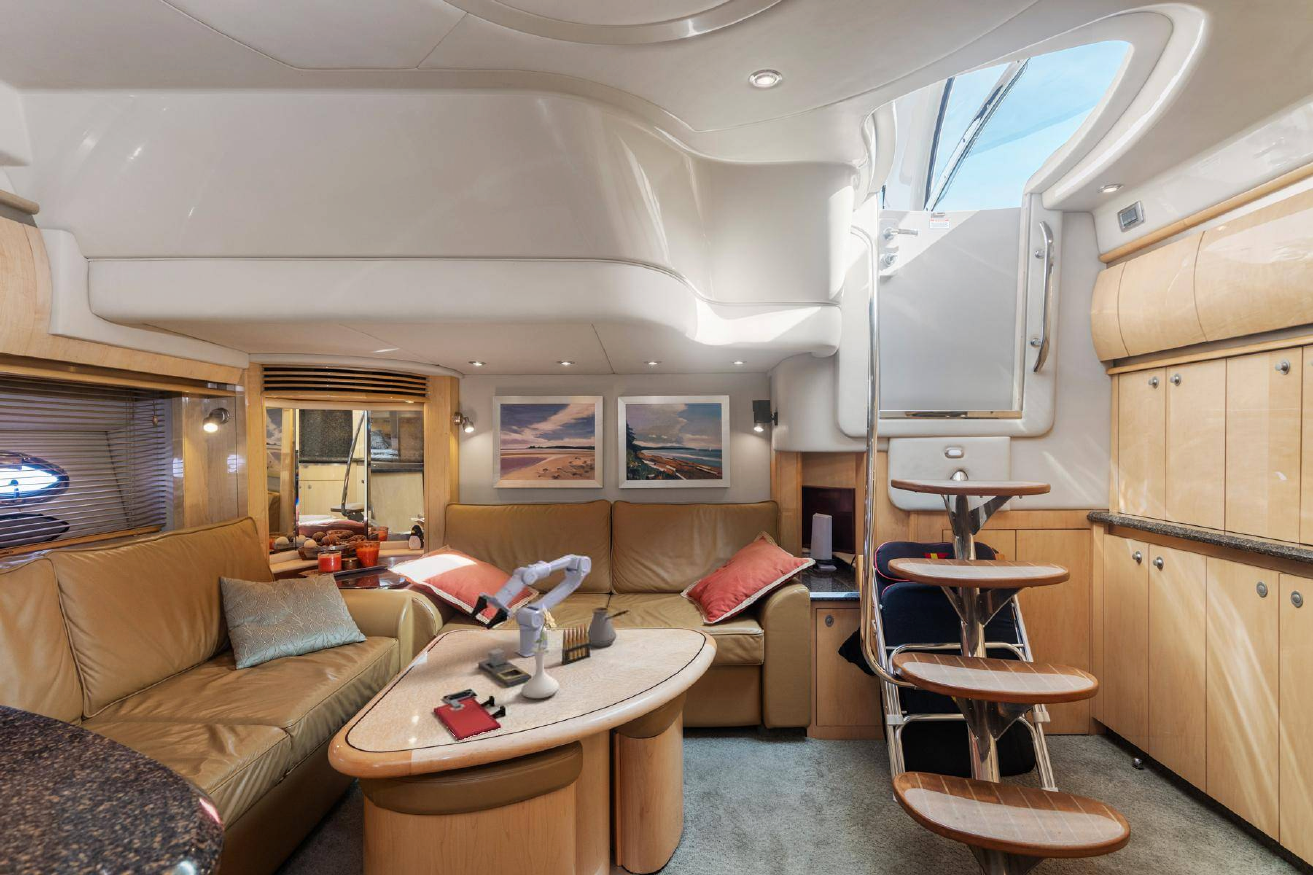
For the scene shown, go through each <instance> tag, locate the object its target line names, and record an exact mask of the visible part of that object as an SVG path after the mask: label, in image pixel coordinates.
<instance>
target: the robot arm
mask: <svg viewBox="0 0 1313 875" xmlns="http://www.w3.org/2000/svg"><path fill="white" fill-rule="evenodd" d="M562 569H564V575H565V579H564V580H562V581H561V582H560V583H559V584H558V585H556V586H555V587H554V588H553V589H552V590H550V591H548V592H547V594H545V595H543V597H541V598H540V599H539V600H537V601H536V602H533V603H529V604H528V605H526V606H524V607H523V606H522V607H520V608H519V609H518V610H517V611H516V613H515V614H514V610H512V609H511V608H510V607H508V605H510V603H511V602H512V601H513V600H514V599H515V598H516V597H517V596H518V595H519V594H520V593H521V592H522V591H523V589H524V588H526V587H527V585H529V586H530V585H533V584H534V583H535V582H536V581H538V580H540V579H544V578H547V577H549V575H551V572H554V571H558V570H562ZM591 569H592V561H591V558H590V557H589V556H586V555H585V556H583V555H577V554H576V555H575V554H572V553H571V554H569V555H568V554H567V555H564V556H563V557H561V558H557V559H555V560H552V561H550V562H546V561H543V560H539V561H537V563H535V564H527V567H522V566H521V567H518V568H515V569H514V571H513V574H512V576H511V578H510V579H509V580H508V581H507V582H506V583H505V584H504V585H503V586H501V588H500V589H499V590H498V591H497V592H496V593H495V594H494V595H491V594H488V593H486V592H483V591H482V592H481V593H480V594H479V595H478V597H477V601H476V602H475V605H474V608H473V610H472V611H471V612H470V614H469V617H470V619H471V620H474V619H475V618H476V617H477V616H478V615H479V614H480V613H481V612H483V611H484V610H486V609H488V608H489V606H488V605H491V607H494V609H496V610H497V611H496V613H495V614H494V616H493V617H492V618H491V619H490V620H489V621H488V622H487V624H486V625H485V628H486V629H487V631H489V630H491V629H492V628H494V627H496V626H497V625H499V624H501V623H504V622H507V621H508V618H509V619H511V618H512V617H513V616H514V615H515V616H514V619H515V622H516V624H518V628H519V649H517V650H515V652H516V653H517V654H519V655H521V657H524V658H528V657H531V656H534V653H533V652H532V651H531V648H533V647H535V646H539V643H535V642H536V641H537V639H540V634H541V630H542V627H543V625H544V623H545V620H544V618H543V615H542V609H544V610H545V608H546V610H547V612H550V611H552V609H554V608H555V607H556V606H557V605H558V604H559V603H561V602H562V601H563V600H565V598H567V597H568V596H569V595H570V594H572V593H573V592H574V591H575V590H576V589H578V587H580V586H581V584H582V582H583V580H584V579H585V577H586V576H587V575H588V574H589V573H591ZM542 632H544V633H546V635H547V636H548V630H547V628H546V625H545V626H544V628H543V631H542ZM541 640H543V641H542V642H541V643H540V646H547V647H548V642H549V641H548V638H547V639H546V640H544V639H542V637H541ZM549 651H550V650H549V648H548V649H547V650H546V652H549ZM546 652H545V653H546Z"/></svg>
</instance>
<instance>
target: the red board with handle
mask: <svg viewBox="0 0 1313 875" xmlns="http://www.w3.org/2000/svg"><path fill="white" fill-rule="evenodd" d="M442 697H443V698H444V700H445V701H446V702H447V703H448V704H444V705H441V706H437V707H435V708H433V713H434V714H435V715H436V716H437V717H438V718H440V719H441V720H442V721H441V720H440V719H439V720H440V721H441V722H442V723H443V725H444V724H445V725H446V726H447V727H448V728H447V727H446V726H445V725H444V726H445V727H446V728H447V729H448V731H449V730H450V731H451V732H452V733H453V734H454V735H455V737H456V738H457V739H458V740H461V739H464V738H468V737H470V736H473V735H478V734H480V733H482V732H487V733H489V732H488V731H490V732H492V731H491V730H494V731H497V730H499V729H498V728H500V729H501V728H502V725H501V724H500V723H499V721H497V720H496V718H498V717H499V716H500V717H502V718H504V717H507V716H506V715H507V714H506V710H507V709H506V707H505V706H504V705H501V706H499V709H498V710H497V711H495V712H494V713H492V714H490V713H489V712H488V710H486V709H485V708H486V707H488V706H490V707H491V708H493V707H496V705H495V701H496V700H495V697H494V696H493V695H490V696H488V699H487V700H485V701H484V702H482V703H479V702H478V701H477V700H476V699H475V698H476V697H478V694H477V693H476V692H475V691H474V690H473V689H472V688H468V689H465V690H461V691H457V692H453V693H451V694H447V695H444V696H442ZM474 697H475V698H474ZM496 729H497V730H496ZM450 731H449V732H450ZM451 732H450V733H451ZM452 733H451V734H452ZM453 734H452V735H453ZM454 735H453V736H454ZM478 736H479V735H478ZM455 737H454V738H455ZM456 738H455V739H456ZM457 739H456V740H457ZM468 739H469V738H468ZM458 740H457V741H458Z"/></svg>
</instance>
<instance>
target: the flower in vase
mask: <svg viewBox="0 0 1313 875" xmlns="http://www.w3.org/2000/svg"><path fill="white" fill-rule="evenodd" d="M542 615H543V618H544V622H543V624H542V625H543V627H542V630H541V634H540V639H537V641H536V642H535V643H539V646H535V647H533V648H531V651H532V652H533V653H534V655H533V656H534V658H535V673H534V675H532V678H530V679H529V680H528V681H527V682H526V683H523V686H522V688H521V693H522V695H523V696H524V697H527V698H529V699H544V698H547V697H550V696H553V695H555V694H556V693H557V692H558V691H559V690H560V688H561V687H560V684H559V682H558V681H557V680H556V679H555V678H554V677H552V676H550V675H548V673H546V672H545V666H544V664H545V663H544V662H545V655H546V650H547V649H548V650H549V648H548V647H547V646H540V643H541V642H542V641H543V640H541V637H542V639H544V640H546V639H547V640H548V634H547V635H546V633H544V632H542V631H543V628H544V626H545V627H546V626H547V627H548V628H549V630H550V631H551V632H552V633H553V632H556V631H557V630H556V628H557V624H556V623H555V619H554V618H553V617H552V615H551V612H550V611H548V612H547V610H546V608H545V610H544V609H542Z"/></svg>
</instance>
